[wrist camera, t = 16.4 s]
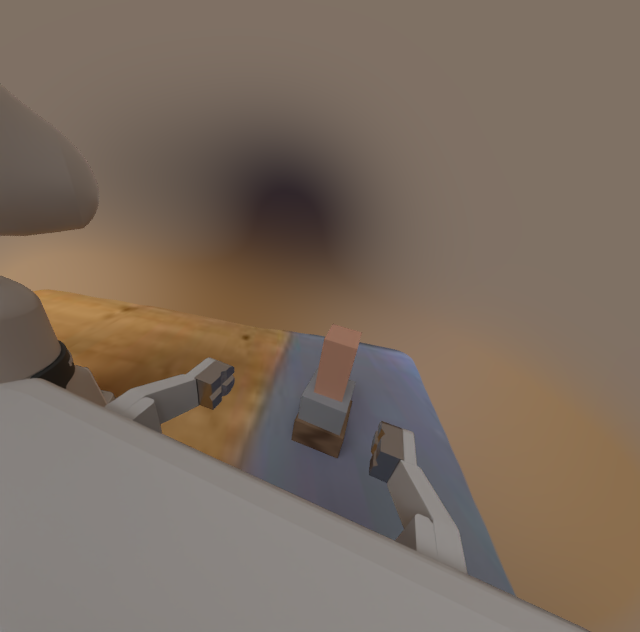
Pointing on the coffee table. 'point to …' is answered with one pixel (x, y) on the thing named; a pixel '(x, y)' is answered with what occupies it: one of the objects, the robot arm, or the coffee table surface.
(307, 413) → the tower top
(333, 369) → the terracotta block
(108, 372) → the coffee table surface
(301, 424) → the tower base
